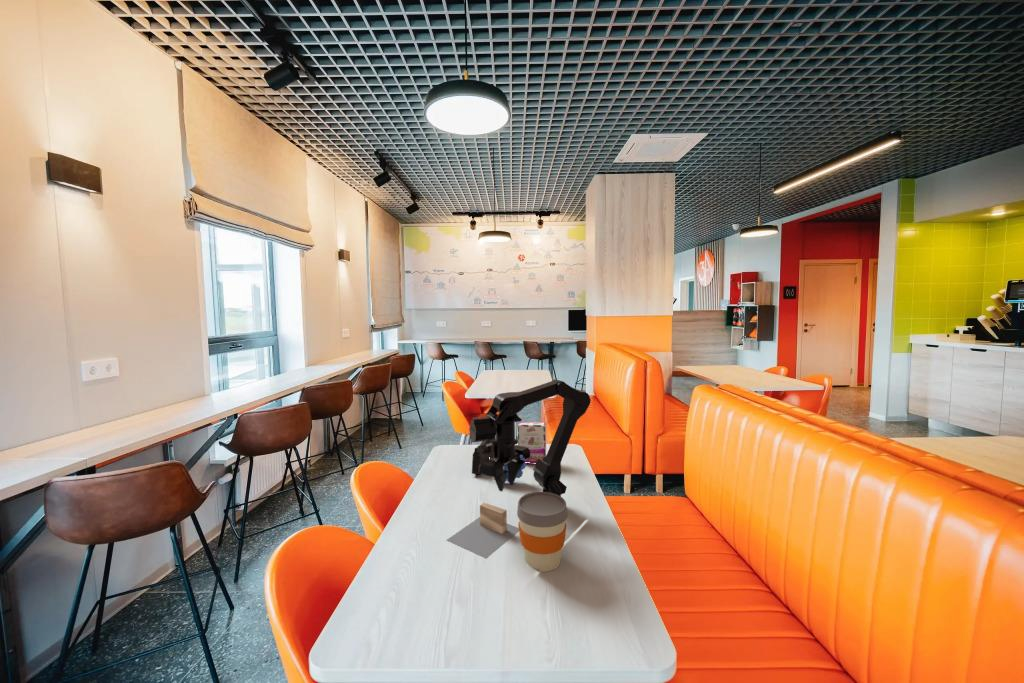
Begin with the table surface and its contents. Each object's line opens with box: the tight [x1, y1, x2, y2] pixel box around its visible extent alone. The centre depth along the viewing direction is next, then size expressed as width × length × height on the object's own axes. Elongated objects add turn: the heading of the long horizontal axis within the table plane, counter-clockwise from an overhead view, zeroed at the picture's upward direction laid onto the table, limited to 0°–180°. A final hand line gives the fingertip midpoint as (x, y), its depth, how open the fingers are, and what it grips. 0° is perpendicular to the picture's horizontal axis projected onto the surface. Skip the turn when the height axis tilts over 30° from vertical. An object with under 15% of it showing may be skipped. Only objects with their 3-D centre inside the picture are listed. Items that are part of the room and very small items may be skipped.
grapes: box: [504, 455, 527, 483], centre depth 143 cm, size 12×7×12 cm, turn 96°
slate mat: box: [446, 516, 519, 559], centre depth 110 cm, size 16×14×1 cm
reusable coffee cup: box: [516, 491, 568, 572], centre depth 99 cm, size 13×13×15 cm
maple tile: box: [479, 502, 508, 534], centre depth 113 cm, size 2×8×6 cm, turn 55°
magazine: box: [471, 437, 496, 475], centre depth 162 cm, size 17×3×30 cm
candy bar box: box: [517, 421, 547, 463], centre depth 161 cm, size 11×5×16 cm, turn 80°
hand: (506, 487), depth 117 cm, fingers open, 5 cm apart
